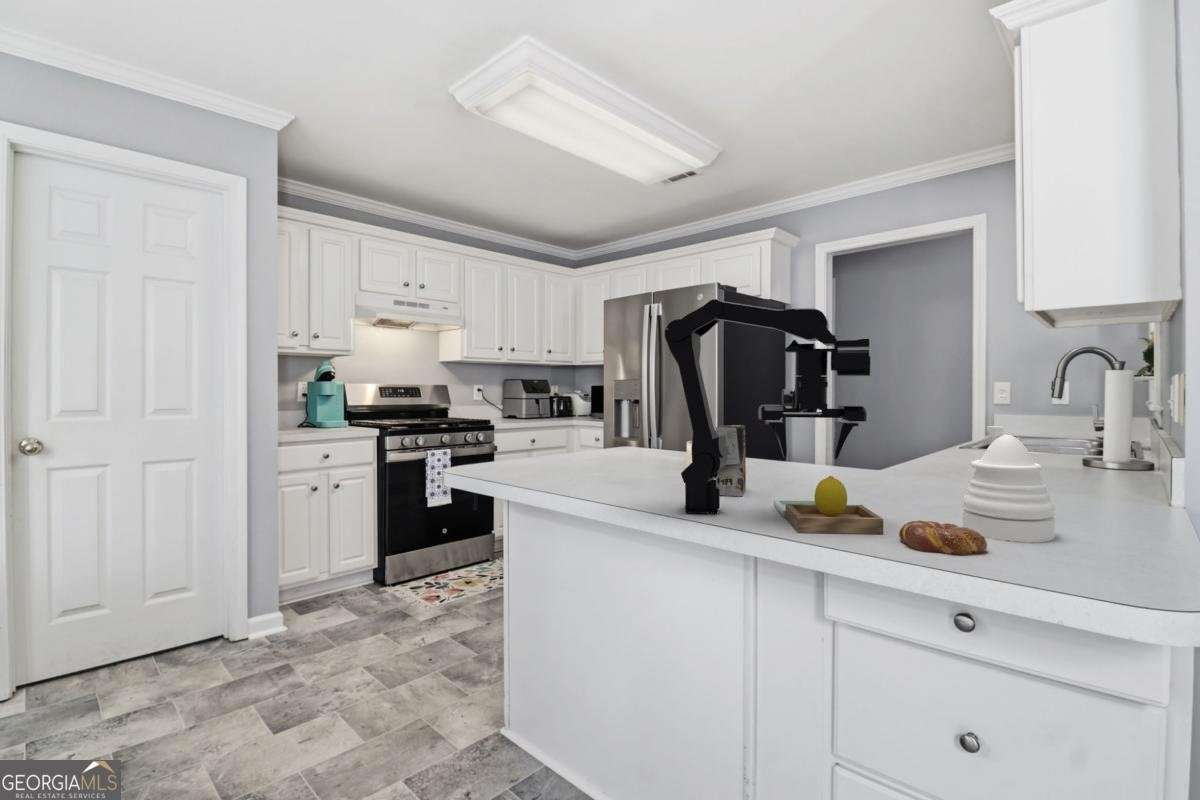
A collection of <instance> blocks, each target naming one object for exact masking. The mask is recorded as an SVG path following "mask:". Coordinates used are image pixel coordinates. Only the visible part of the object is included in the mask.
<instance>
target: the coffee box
mask: <svg viewBox="0 0 1200 800" xmlns="http://www.w3.org/2000/svg"><path fill="white" fill-rule="evenodd" d="M715 431H716V433H717V434H718V436H719V437H720V436H723V435H725V437H726V447H727V450H728V451H729V453H730V454H729V455H727V463H726V465H725V467H724V468H723V469H722V470H720V471H719V472H718V475H717V477H716V478H715V480H716V487H719V493H720V496H726V497H727V496H728V497H743V496H744V494H745V493H746V490H747V489H746V488H747V482H746V480H747V478H746V477H747V475H746V474H747V473H746V472H747V471H746V469H747V468H746V464H747V463H746V425H745V424H732V425H731V424H729V425H728V424H727V425H718V426H716V427H715Z"/></svg>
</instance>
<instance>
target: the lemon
mask: <svg viewBox="0 0 1200 800" xmlns="http://www.w3.org/2000/svg"><path fill="white" fill-rule="evenodd" d="M814 500H815V504H816V507H817V509H818V510H819V511H820V512H821V513H822V514H823V515H825V516H826V517H836V516H838V515H840V514H841V513H842V512H843V511H844V510H845V508H846V505H848V504H847V503H848V493H847V490H846V487H845V485H844V483H842V481H841V480H839V479H837V478H835V477H834V476H833V475H829V476H828V477H826V478H823V479H822V480H820V481H819V482H818V484H817V486H816V488H815V492H814Z"/></svg>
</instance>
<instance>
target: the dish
mask: <svg viewBox="0 0 1200 800" xmlns="http://www.w3.org/2000/svg"><path fill="white" fill-rule="evenodd" d="M772 501H773V502H772V503H773V505H774V506H773V507H774V508H775V510H776V511H777V510H778V511H777V512H778V513H779V514H780V515H782V516H781V517H782V518H786V504H815V499H813V500H812V499H811V500H810V499H773V500H772Z"/></svg>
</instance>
